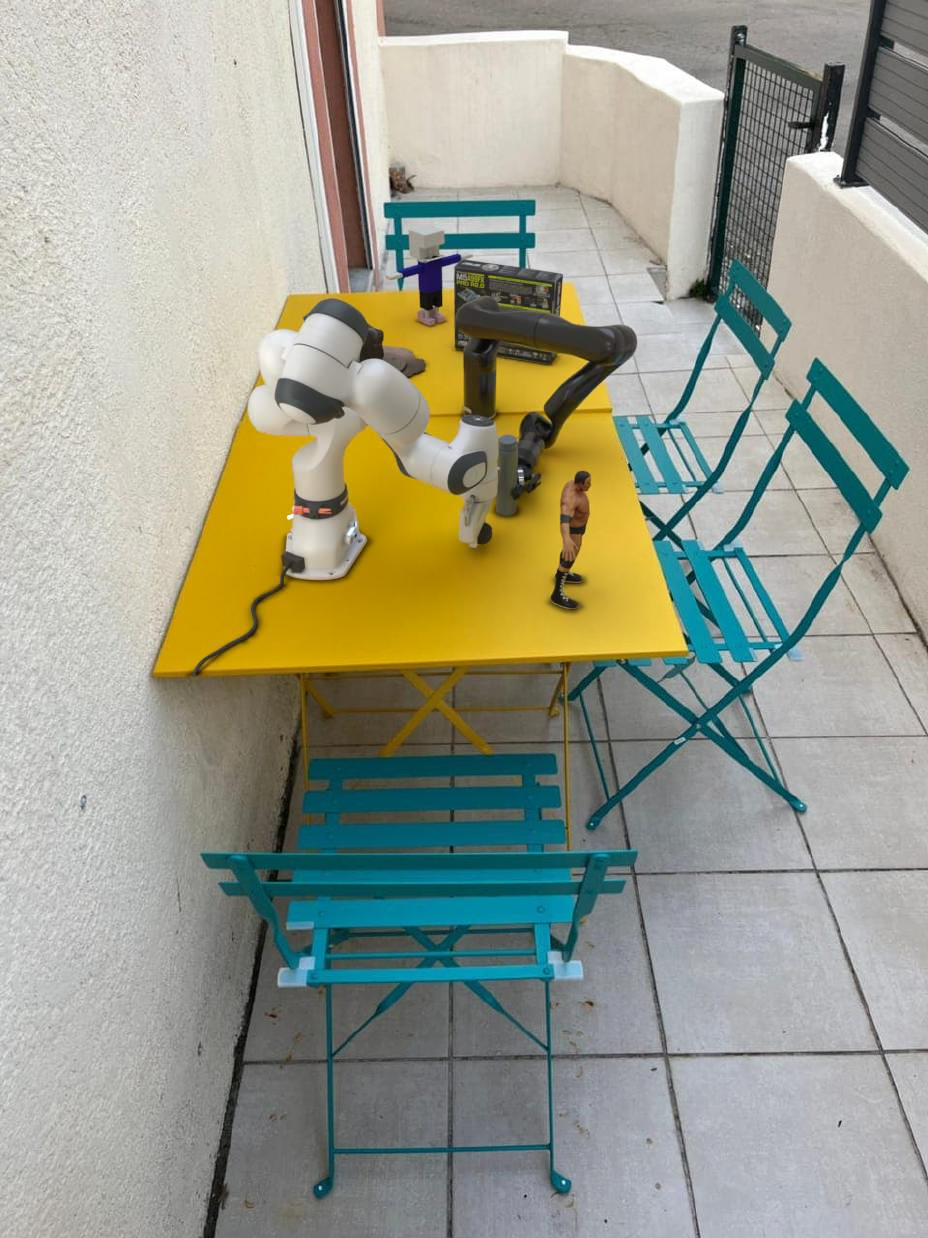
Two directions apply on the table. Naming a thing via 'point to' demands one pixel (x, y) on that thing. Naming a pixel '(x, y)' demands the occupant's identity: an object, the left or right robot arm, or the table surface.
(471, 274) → the box
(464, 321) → the right robot arm
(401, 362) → the sculpture
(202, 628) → the table surface
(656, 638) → the table surface
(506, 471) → the jar
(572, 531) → the figurine
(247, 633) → the left robot arm
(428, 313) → the toy
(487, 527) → the lid
